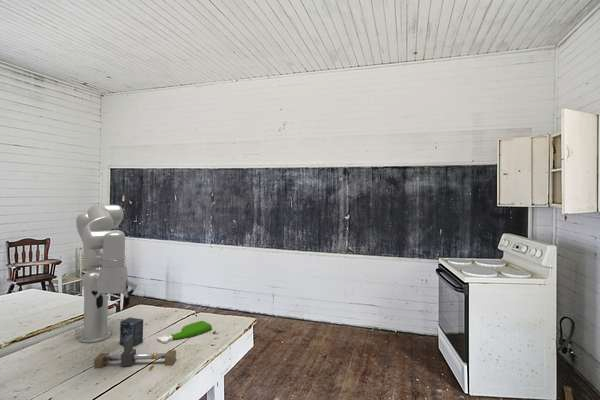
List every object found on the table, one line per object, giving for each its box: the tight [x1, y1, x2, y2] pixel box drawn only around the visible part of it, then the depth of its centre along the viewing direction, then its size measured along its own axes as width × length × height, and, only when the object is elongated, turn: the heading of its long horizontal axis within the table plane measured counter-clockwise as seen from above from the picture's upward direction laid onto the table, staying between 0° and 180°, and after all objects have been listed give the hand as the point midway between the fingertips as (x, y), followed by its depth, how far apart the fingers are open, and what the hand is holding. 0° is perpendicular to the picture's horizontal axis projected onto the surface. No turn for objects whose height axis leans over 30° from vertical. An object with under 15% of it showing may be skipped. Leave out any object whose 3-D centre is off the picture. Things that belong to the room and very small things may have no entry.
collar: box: [120, 334, 137, 367], centre depth 127 cm, size 4×6×10 cm, turn 7°
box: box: [119, 317, 144, 348], centre depth 146 cm, size 8×6×11 cm
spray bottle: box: [156, 320, 213, 344], centre depth 156 cm, size 3×11×25 cm
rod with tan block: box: [93, 349, 177, 372], centre depth 128 cm, size 29×12×4 cm, turn 97°
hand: (113, 306), depth 127 cm, fingers open, 9 cm apart
